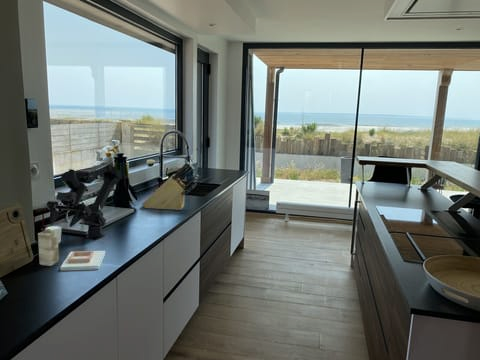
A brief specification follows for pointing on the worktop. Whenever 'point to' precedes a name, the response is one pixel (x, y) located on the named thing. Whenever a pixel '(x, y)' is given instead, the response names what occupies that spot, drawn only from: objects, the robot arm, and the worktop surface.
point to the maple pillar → (48, 247)
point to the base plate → (83, 260)
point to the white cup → (56, 228)
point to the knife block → (172, 191)
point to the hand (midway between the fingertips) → (60, 225)
